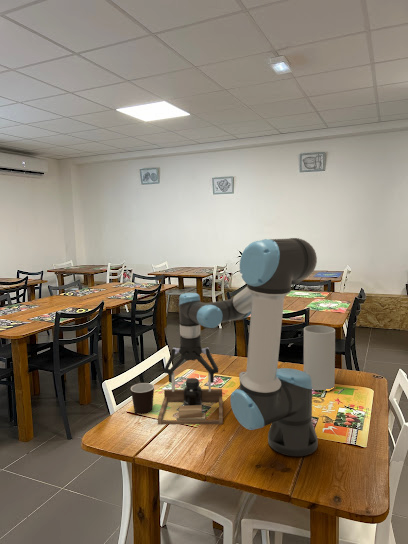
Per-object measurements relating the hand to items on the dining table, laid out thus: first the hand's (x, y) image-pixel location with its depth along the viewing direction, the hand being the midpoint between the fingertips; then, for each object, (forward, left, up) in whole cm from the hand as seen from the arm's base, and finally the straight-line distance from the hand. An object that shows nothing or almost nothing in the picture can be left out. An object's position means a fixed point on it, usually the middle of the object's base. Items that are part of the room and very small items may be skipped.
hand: (191, 390), depth 147 cm
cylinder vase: (+21, -52, -8) cm, 57 cm away
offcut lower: (-9, 0, -8) cm, 12 cm away
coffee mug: (0, +18, -8) cm, 19 cm away
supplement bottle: (0, 0, -8) cm, 8 cm away
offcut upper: (-9, 0, -5) cm, 10 cm away
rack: (-3, 0, -8) cm, 9 cm away
